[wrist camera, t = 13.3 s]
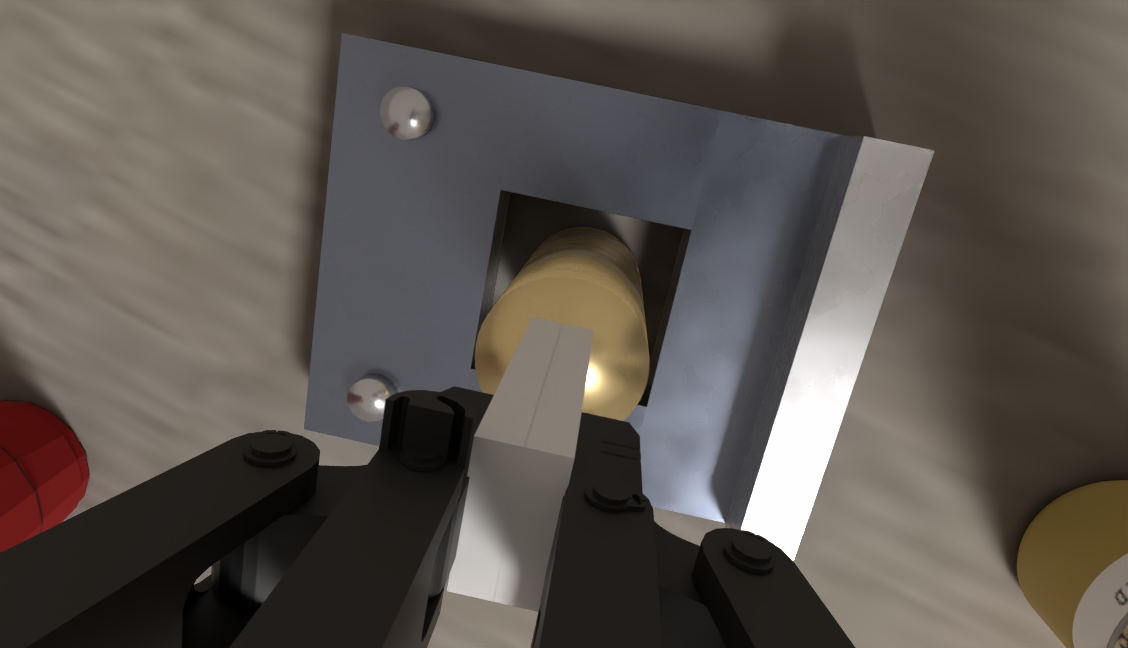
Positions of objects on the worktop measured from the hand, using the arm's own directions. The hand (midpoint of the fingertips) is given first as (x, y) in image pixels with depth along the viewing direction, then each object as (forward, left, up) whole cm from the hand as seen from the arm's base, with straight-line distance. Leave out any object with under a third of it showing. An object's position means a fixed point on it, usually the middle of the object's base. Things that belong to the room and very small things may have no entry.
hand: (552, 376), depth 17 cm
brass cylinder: (0, 0, -10) cm, 10 cm away
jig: (0, 0, -10) cm, 10 cm away
